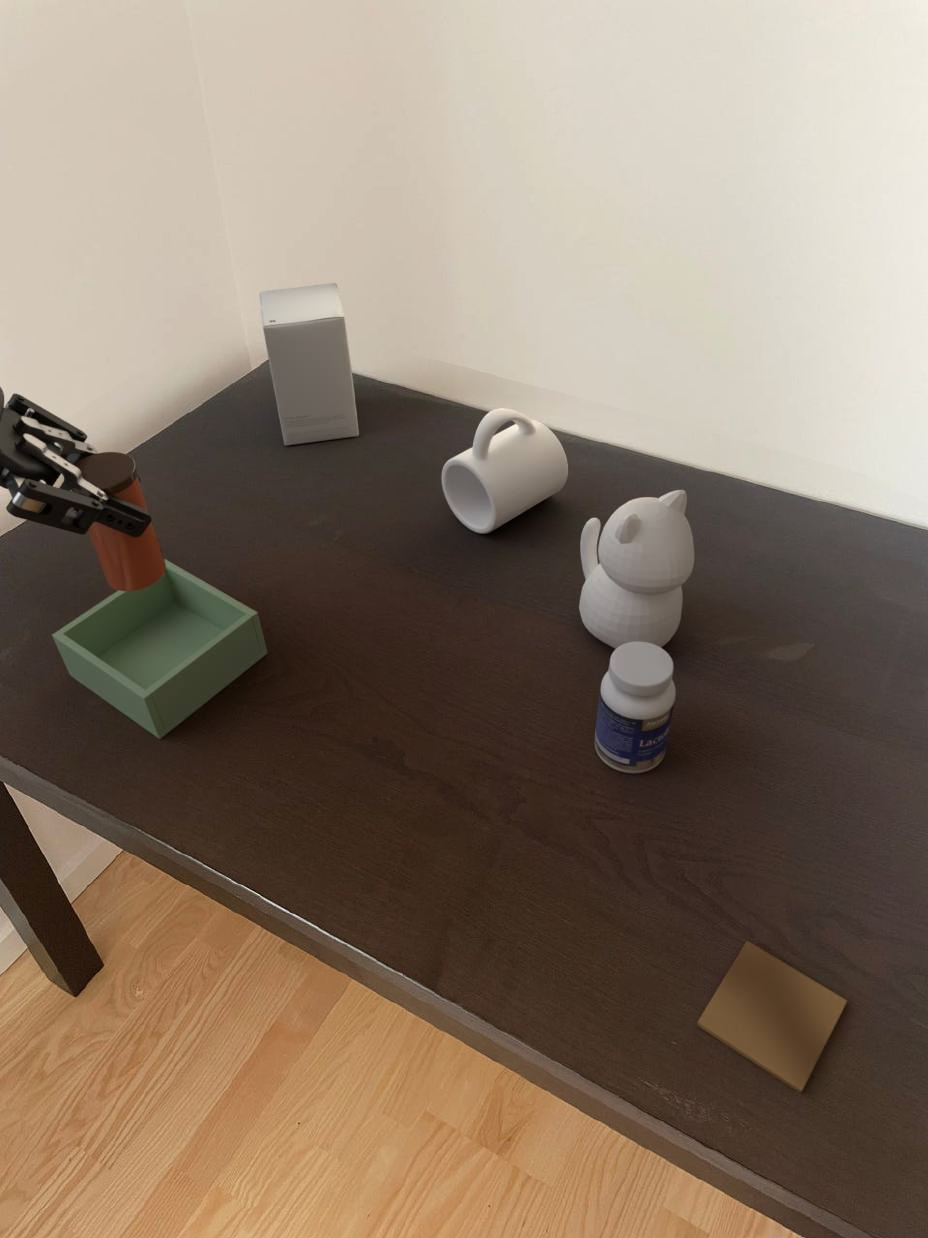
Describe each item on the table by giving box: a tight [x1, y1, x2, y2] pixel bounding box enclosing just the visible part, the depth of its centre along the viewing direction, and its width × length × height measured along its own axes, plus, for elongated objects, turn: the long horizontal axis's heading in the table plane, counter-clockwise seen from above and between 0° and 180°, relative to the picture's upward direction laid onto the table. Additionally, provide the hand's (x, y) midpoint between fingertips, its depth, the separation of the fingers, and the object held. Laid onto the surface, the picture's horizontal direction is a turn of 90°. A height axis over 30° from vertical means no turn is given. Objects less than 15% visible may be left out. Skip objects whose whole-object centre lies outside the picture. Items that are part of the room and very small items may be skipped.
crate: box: [51, 558, 268, 740], centre depth 85 cm, size 12×12×5 cm
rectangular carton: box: [259, 282, 360, 446], centre depth 110 cm, size 9×9×15 cm
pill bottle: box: [594, 642, 677, 774], centre depth 75 cm, size 6×6×10 cm
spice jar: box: [71, 451, 166, 591], centre depth 76 cm, size 5×5×10 cm
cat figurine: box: [578, 489, 695, 650], centre depth 84 cm, size 9×12×15 cm
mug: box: [441, 407, 569, 535], centre depth 98 cm, size 8×10×12 cm
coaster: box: [696, 940, 848, 1094], centre depth 62 cm, size 7×7×1 cm
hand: (139, 505), depth 75 cm, fingers closed on spice jar, 5 cm apart
